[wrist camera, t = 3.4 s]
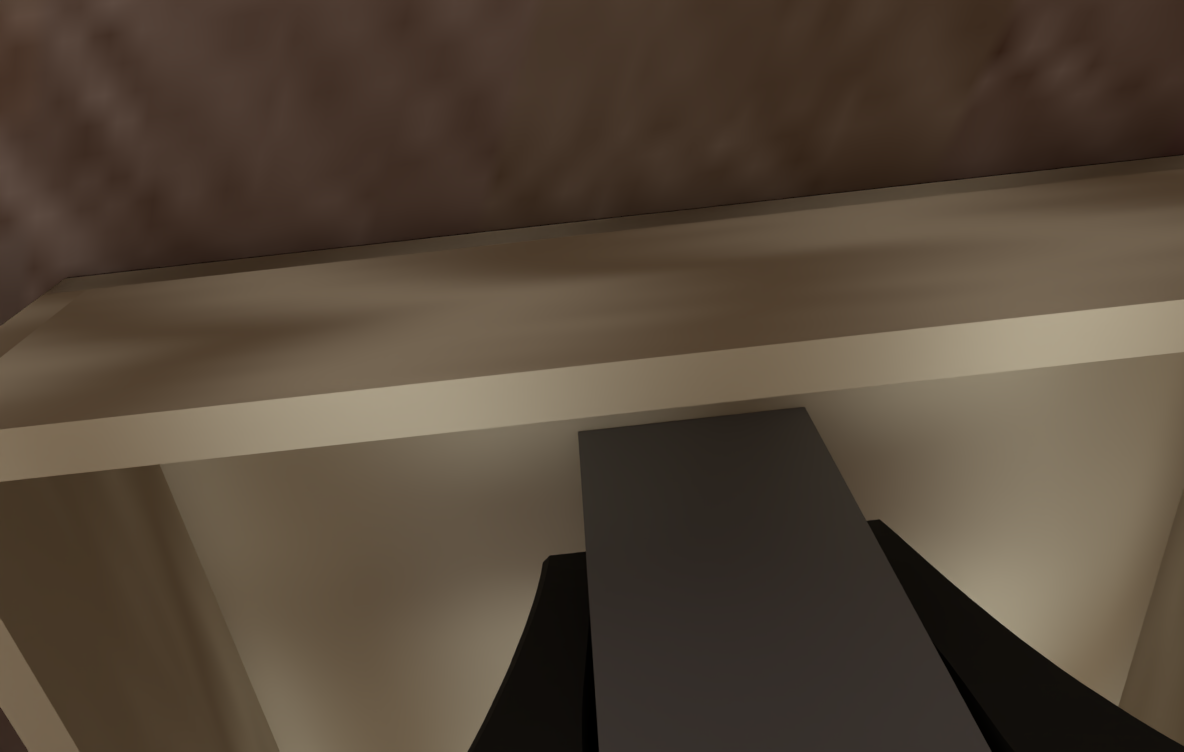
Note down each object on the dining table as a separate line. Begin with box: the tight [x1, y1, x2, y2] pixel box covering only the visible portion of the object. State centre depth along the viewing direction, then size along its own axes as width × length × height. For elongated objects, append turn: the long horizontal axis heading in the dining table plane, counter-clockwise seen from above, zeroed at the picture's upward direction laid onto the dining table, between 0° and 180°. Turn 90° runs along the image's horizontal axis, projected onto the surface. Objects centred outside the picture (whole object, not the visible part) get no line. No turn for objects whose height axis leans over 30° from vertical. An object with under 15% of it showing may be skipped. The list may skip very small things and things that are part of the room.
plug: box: [578, 407, 991, 752], centre depth 10 cm, size 4×4×8 cm
